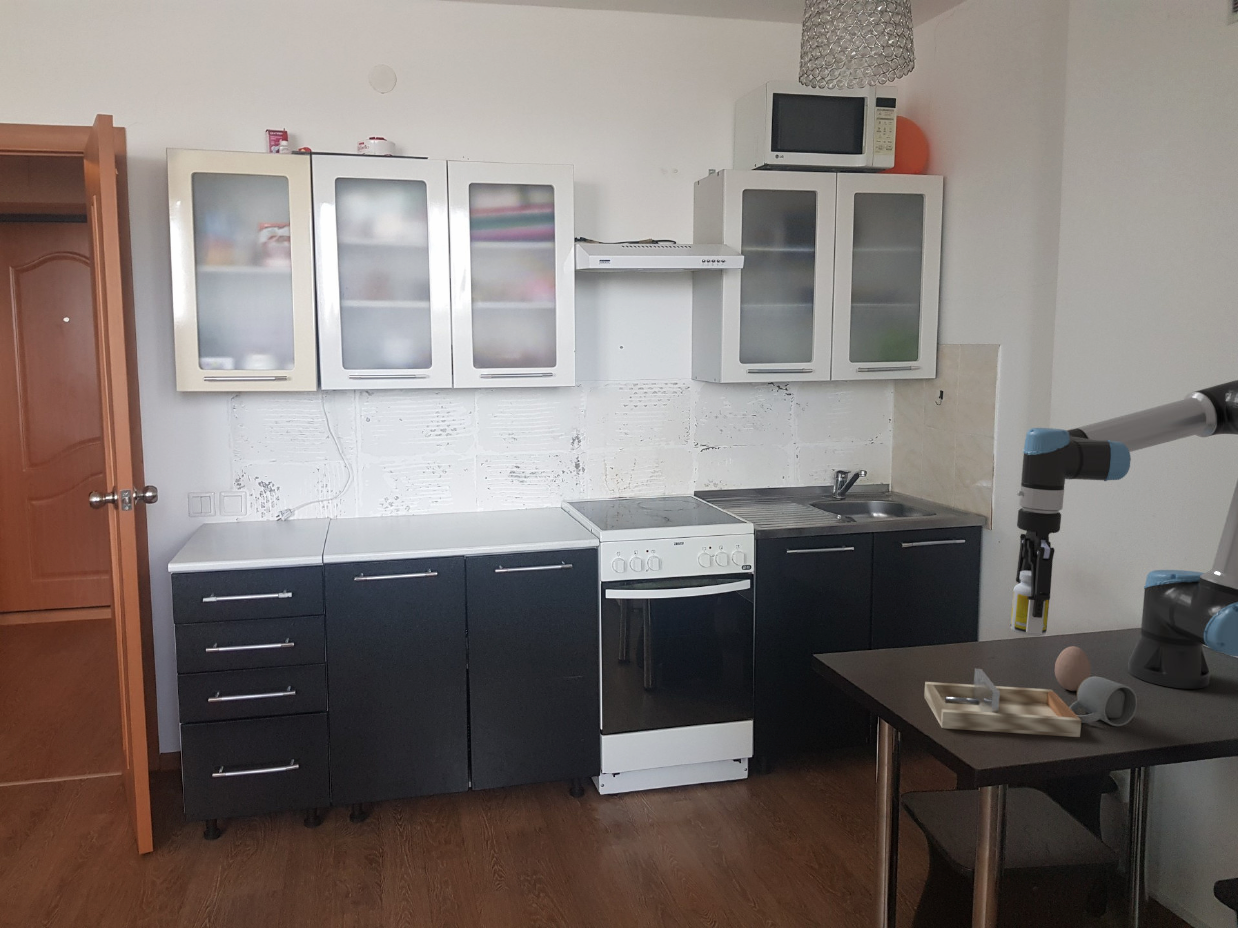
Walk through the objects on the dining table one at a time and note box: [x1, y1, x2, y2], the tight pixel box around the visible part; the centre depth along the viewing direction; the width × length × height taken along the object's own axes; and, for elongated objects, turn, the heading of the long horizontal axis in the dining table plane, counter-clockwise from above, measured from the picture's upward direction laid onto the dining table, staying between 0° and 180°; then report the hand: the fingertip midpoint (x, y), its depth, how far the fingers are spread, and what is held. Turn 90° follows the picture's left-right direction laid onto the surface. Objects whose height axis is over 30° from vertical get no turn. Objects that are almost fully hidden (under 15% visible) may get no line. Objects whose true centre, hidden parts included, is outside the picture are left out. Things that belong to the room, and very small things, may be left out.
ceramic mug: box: [1068, 675, 1138, 727], centre depth 180 cm, size 11×8×8 cm
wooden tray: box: [923, 681, 1082, 738], centre depth 180 cm, size 24×15×3 cm, turn 84°
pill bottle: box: [1010, 571, 1050, 637], centre depth 184 cm, size 6×6×12 cm
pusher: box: [945, 668, 1000, 713], centre depth 180 cm, size 8×12×6 cm, turn 174°
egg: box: [1054, 645, 1092, 692], centre depth 194 cm, size 7×7×9 cm
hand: (1028, 627), depth 185 cm, fingers closed on pill bottle, 6 cm apart
